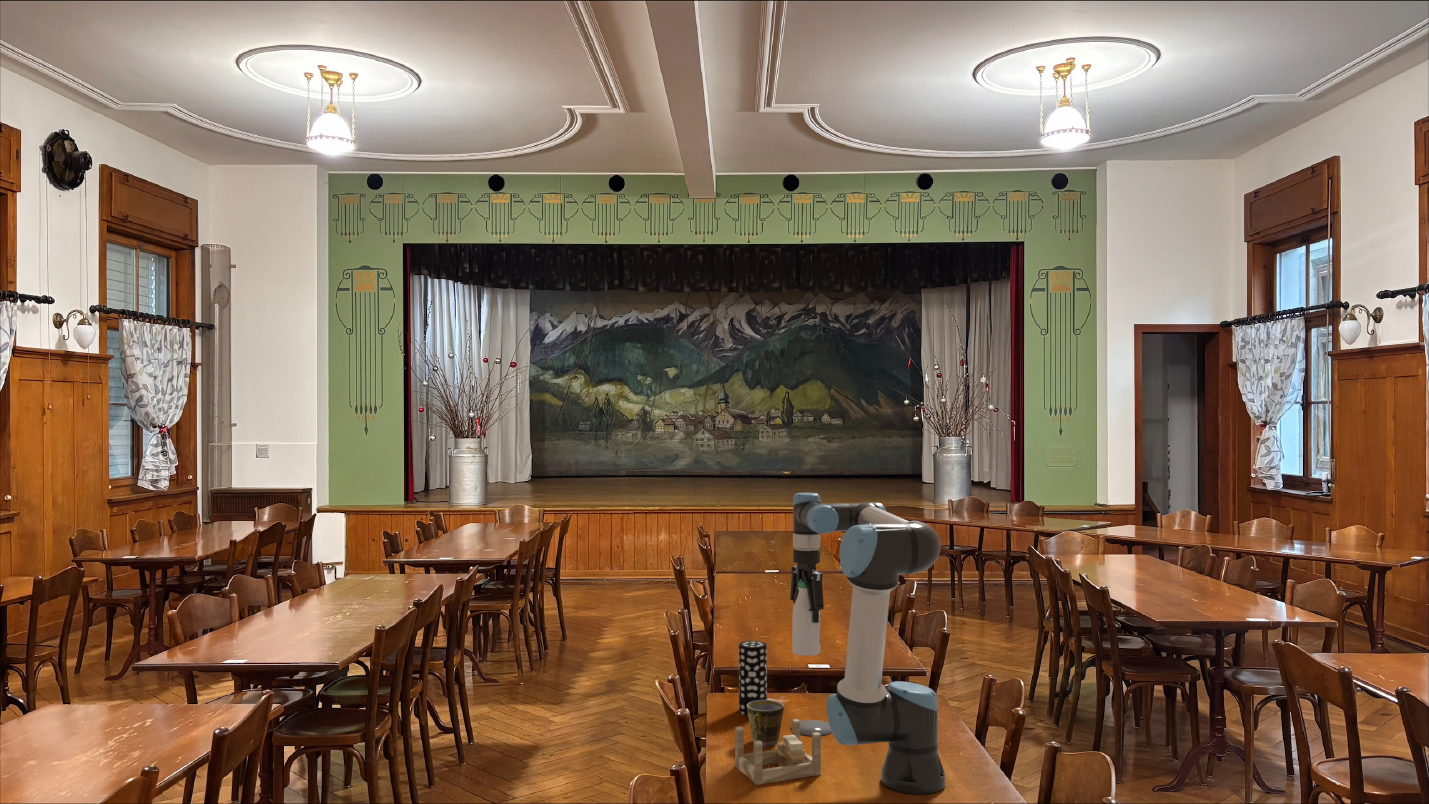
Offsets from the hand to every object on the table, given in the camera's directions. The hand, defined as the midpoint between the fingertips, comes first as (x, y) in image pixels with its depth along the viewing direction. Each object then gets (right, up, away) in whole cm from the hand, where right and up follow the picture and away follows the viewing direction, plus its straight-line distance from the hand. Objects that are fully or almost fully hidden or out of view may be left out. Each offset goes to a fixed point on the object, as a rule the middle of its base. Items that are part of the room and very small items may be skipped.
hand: (806, 630), depth 267 cm
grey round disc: (+2, -29, +4) cm, 29 cm away
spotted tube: (-14, -29, +20) cm, 38 cm away
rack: (-10, -28, -28) cm, 41 cm away
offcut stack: (-6, -28, -27) cm, 39 cm away
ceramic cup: (-12, -29, -9) cm, 32 cm away
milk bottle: (0, -6, 0) cm, 6 cm away
